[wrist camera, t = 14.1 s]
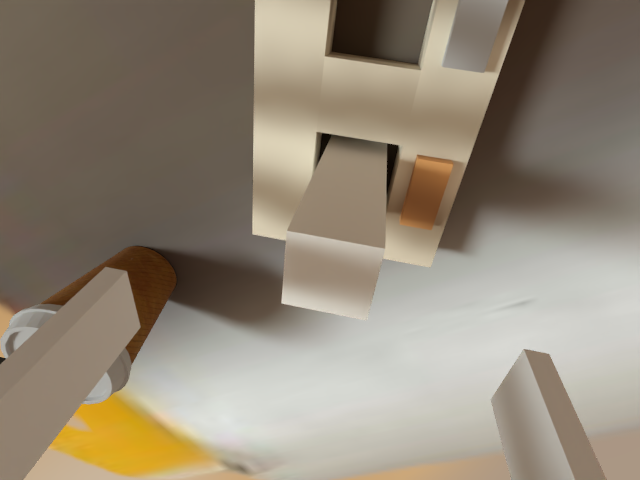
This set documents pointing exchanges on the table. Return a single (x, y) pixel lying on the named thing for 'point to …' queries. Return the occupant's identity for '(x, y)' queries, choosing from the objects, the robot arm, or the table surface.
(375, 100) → the socket plate
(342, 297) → the plug
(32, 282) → the table surface
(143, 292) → the disposable coffee cup
